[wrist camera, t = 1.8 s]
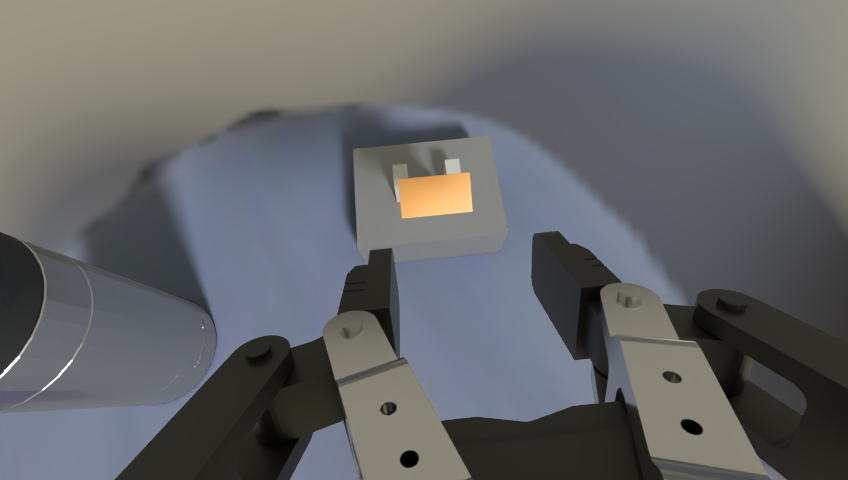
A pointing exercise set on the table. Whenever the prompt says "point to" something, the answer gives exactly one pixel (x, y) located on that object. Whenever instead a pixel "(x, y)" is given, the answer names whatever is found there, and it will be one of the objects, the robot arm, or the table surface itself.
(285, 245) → the table surface
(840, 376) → the robot arm
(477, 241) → the block
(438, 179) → the lever
